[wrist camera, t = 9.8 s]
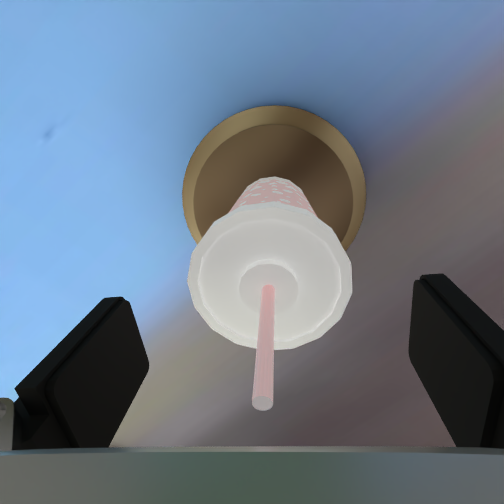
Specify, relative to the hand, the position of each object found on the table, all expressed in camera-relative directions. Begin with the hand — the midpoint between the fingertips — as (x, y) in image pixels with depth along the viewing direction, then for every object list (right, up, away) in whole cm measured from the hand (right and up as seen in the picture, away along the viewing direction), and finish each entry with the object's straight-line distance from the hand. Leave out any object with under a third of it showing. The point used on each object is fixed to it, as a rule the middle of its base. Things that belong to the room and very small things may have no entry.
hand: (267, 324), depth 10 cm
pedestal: (+1, +7, +13) cm, 15 cm away
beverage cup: (+1, +5, +10) cm, 11 cm away
